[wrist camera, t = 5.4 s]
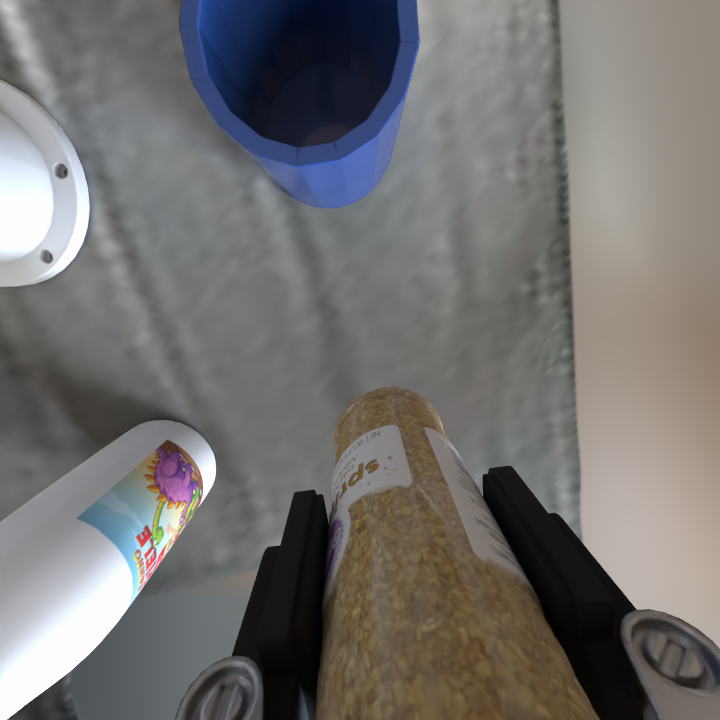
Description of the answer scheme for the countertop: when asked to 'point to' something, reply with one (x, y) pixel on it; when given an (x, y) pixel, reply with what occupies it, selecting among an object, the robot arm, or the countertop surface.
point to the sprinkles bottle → (427, 585)
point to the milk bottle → (91, 550)
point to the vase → (306, 86)
